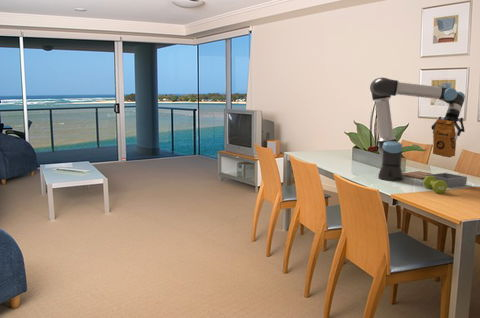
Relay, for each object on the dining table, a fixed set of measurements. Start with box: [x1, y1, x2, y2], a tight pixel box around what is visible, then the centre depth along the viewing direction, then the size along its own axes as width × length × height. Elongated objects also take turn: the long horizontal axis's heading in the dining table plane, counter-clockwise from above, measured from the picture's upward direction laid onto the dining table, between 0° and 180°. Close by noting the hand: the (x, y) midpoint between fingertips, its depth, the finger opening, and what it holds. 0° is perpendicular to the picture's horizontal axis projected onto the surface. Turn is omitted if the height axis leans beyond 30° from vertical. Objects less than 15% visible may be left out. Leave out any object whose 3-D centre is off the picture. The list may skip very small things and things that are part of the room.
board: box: [402, 170, 433, 181], centre depth 292 cm, size 20×18×1 cm
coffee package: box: [432, 118, 457, 158], centre depth 268 cm, size 10×12×22 cm
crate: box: [427, 172, 468, 189], centre depth 267 cm, size 17×15×5 cm
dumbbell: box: [422, 176, 448, 194], centre depth 249 cm, size 16×8×7 cm, turn 0°
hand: (444, 138), depth 268 cm, fingers closed on coffee package, 12 cm apart
